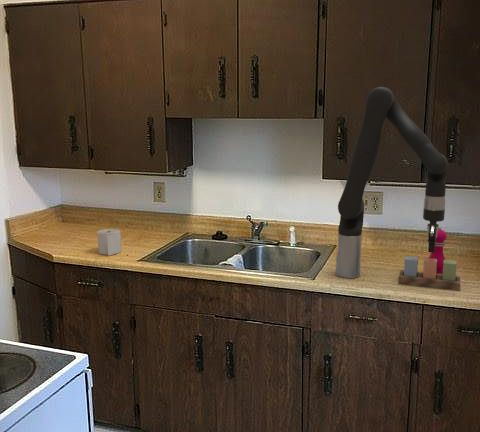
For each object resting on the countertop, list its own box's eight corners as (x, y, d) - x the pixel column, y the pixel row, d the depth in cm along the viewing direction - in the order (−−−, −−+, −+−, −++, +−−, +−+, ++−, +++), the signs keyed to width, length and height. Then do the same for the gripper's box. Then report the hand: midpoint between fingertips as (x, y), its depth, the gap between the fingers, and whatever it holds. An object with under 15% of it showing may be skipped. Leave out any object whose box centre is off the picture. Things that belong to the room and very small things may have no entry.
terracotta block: (422, 278, 208) (423, 261, 206) (423, 275, 212) (424, 257, 210) (435, 280, 206) (436, 262, 204) (435, 276, 210) (437, 259, 209)
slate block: (403, 276, 210) (404, 259, 209) (404, 273, 214) (405, 256, 213) (416, 278, 208) (417, 260, 207) (417, 274, 213) (418, 257, 211)
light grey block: (114, 247, 264) (113, 227, 262) (127, 252, 255) (126, 231, 253) (94, 251, 257) (93, 231, 255) (107, 257, 248) (105, 235, 246)
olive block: (442, 280, 205) (443, 263, 204) (442, 277, 209) (443, 259, 208) (455, 282, 203) (456, 264, 202) (455, 278, 208) (456, 260, 206)
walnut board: (398, 284, 209) (398, 276, 209) (400, 277, 217) (400, 269, 217) (459, 291, 201) (460, 283, 201) (459, 283, 209) (460, 276, 209)
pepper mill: (441, 270, 225) (444, 223, 221) (448, 276, 218) (451, 227, 214) (423, 271, 225) (427, 224, 220) (430, 276, 218) (433, 228, 213)
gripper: (424, 203, 210) (422, 246, 214) (422, 210, 198) (419, 255, 202) (445, 204, 208) (442, 248, 211) (444, 211, 196) (441, 257, 199)
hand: (431, 252), depth 207 cm, fingers closed
